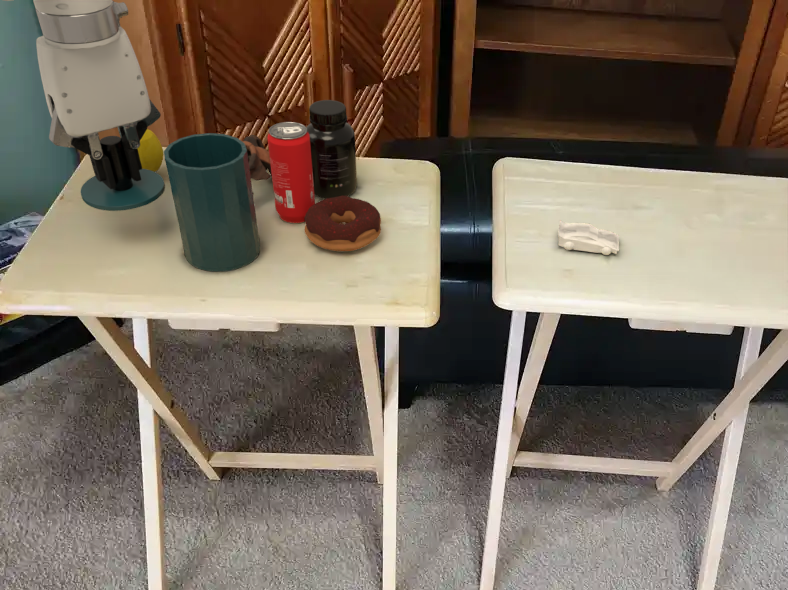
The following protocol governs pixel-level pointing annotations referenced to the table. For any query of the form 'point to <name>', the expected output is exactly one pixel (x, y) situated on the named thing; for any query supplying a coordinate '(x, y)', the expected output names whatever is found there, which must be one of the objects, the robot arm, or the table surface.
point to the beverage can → (291, 170)
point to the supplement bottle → (332, 150)
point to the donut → (342, 237)
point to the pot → (213, 201)
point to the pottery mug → (257, 158)
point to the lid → (121, 183)
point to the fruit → (150, 151)
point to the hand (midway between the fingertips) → (120, 179)
